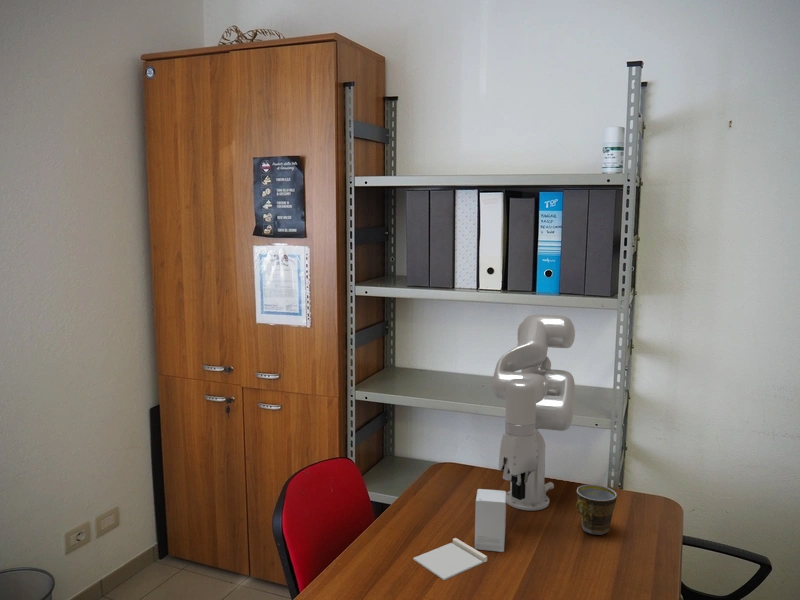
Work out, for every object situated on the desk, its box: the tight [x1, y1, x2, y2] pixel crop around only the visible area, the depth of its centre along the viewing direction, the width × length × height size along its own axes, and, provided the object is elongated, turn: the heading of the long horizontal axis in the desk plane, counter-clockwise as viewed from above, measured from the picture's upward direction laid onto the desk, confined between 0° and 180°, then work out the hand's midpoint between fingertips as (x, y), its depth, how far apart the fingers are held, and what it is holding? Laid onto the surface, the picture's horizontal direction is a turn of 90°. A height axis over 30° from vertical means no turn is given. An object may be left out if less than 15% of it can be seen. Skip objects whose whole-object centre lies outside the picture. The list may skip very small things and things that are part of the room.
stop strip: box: [452, 537, 488, 563], centre depth 151 cm, size 1×11×1 cm, turn 37°
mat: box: [412, 542, 484, 581], centre depth 147 cm, size 12×11×1 cm
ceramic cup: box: [575, 484, 618, 536], centre depth 162 cm, size 13×10×10 cm
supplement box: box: [474, 488, 507, 553], centre depth 155 cm, size 7×7×13 cm
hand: (518, 497), depth 160 cm, fingers closed
